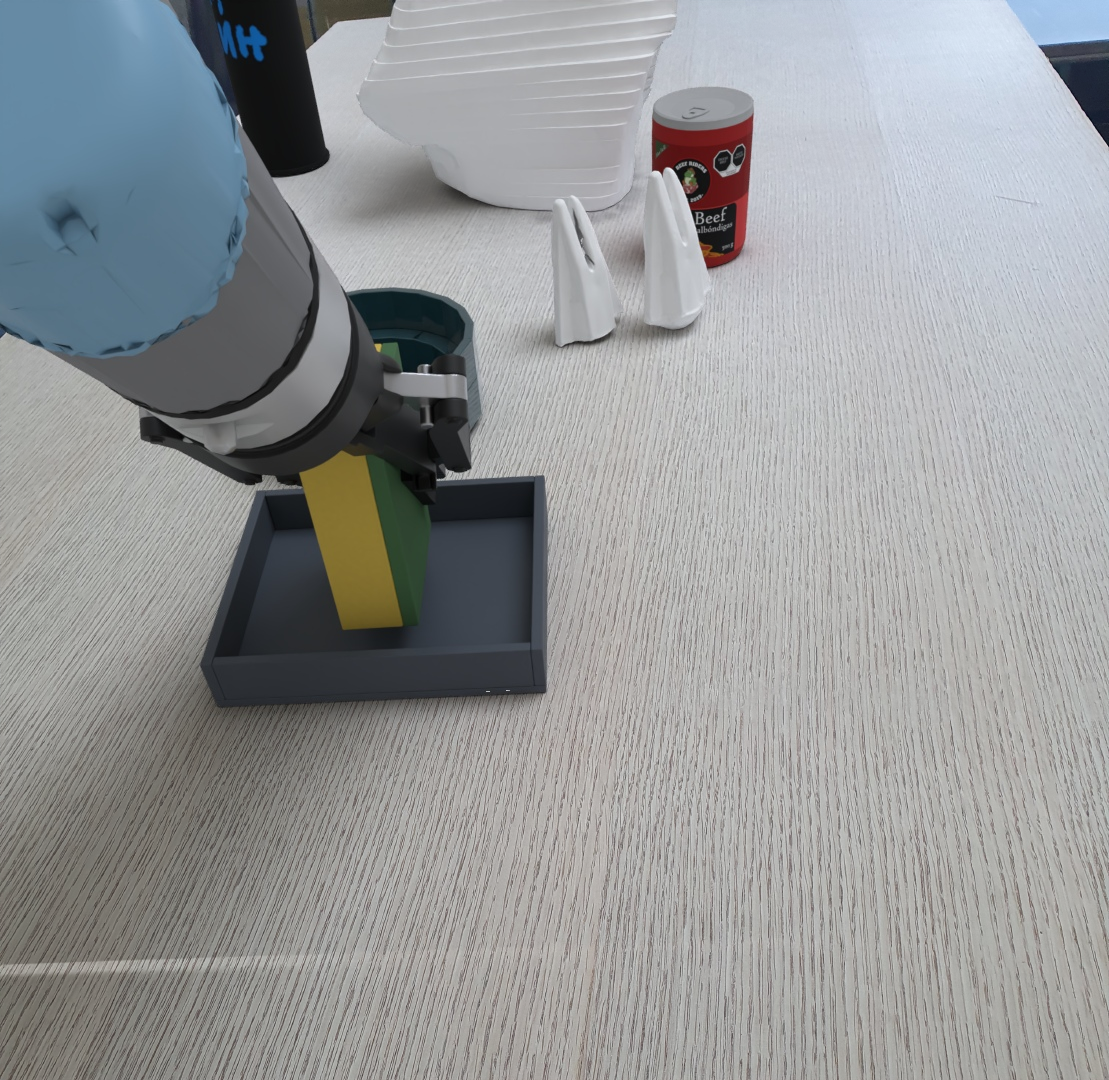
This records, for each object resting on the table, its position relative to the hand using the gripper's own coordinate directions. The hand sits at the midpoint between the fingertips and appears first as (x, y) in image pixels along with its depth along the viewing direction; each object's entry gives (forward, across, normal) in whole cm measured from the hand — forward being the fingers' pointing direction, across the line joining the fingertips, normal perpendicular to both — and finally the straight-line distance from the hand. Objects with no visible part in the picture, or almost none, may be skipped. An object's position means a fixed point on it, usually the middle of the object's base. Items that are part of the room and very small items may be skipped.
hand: (385, 482), depth 59 cm
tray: (+1, 0, -7) cm, 7 cm away
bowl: (+15, -3, +8) cm, 17 cm away
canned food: (+33, +21, +24) cm, 46 cm away
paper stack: (+46, +7, +38) cm, 60 cm away
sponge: (-1, 0, -5) cm, 5 cm away
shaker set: (+23, +15, +15) cm, 32 cm away
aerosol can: (+52, -18, +44) cm, 70 cm away
